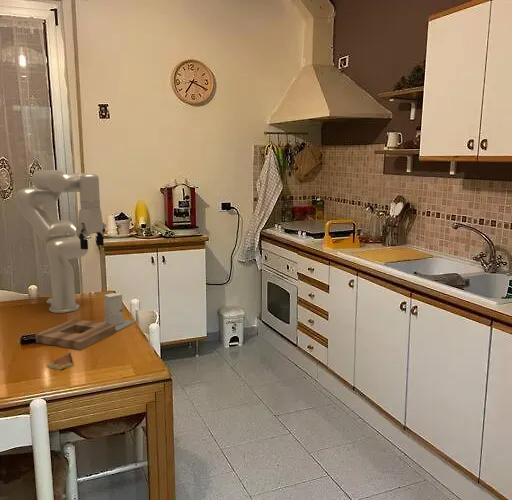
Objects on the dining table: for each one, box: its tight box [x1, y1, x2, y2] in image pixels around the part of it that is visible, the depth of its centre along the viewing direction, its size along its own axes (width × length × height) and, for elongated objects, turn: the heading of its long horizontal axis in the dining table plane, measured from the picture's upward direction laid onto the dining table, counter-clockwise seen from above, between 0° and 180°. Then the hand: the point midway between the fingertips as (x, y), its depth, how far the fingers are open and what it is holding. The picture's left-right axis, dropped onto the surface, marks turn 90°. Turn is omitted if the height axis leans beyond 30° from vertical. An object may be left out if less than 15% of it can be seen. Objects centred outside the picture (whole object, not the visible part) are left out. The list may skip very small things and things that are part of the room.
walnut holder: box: [35, 318, 117, 351], centre depth 194 cm, size 20×20×3 cm
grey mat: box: [100, 319, 136, 333], centre depth 209 cm, size 12×12×1 cm
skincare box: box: [103, 292, 124, 325], centre depth 208 cm, size 6×4×12 cm
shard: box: [46, 352, 75, 371], centre depth 171 cm, size 11×8×2 cm
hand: (92, 247), depth 211 cm, fingers open, 9 cm apart
